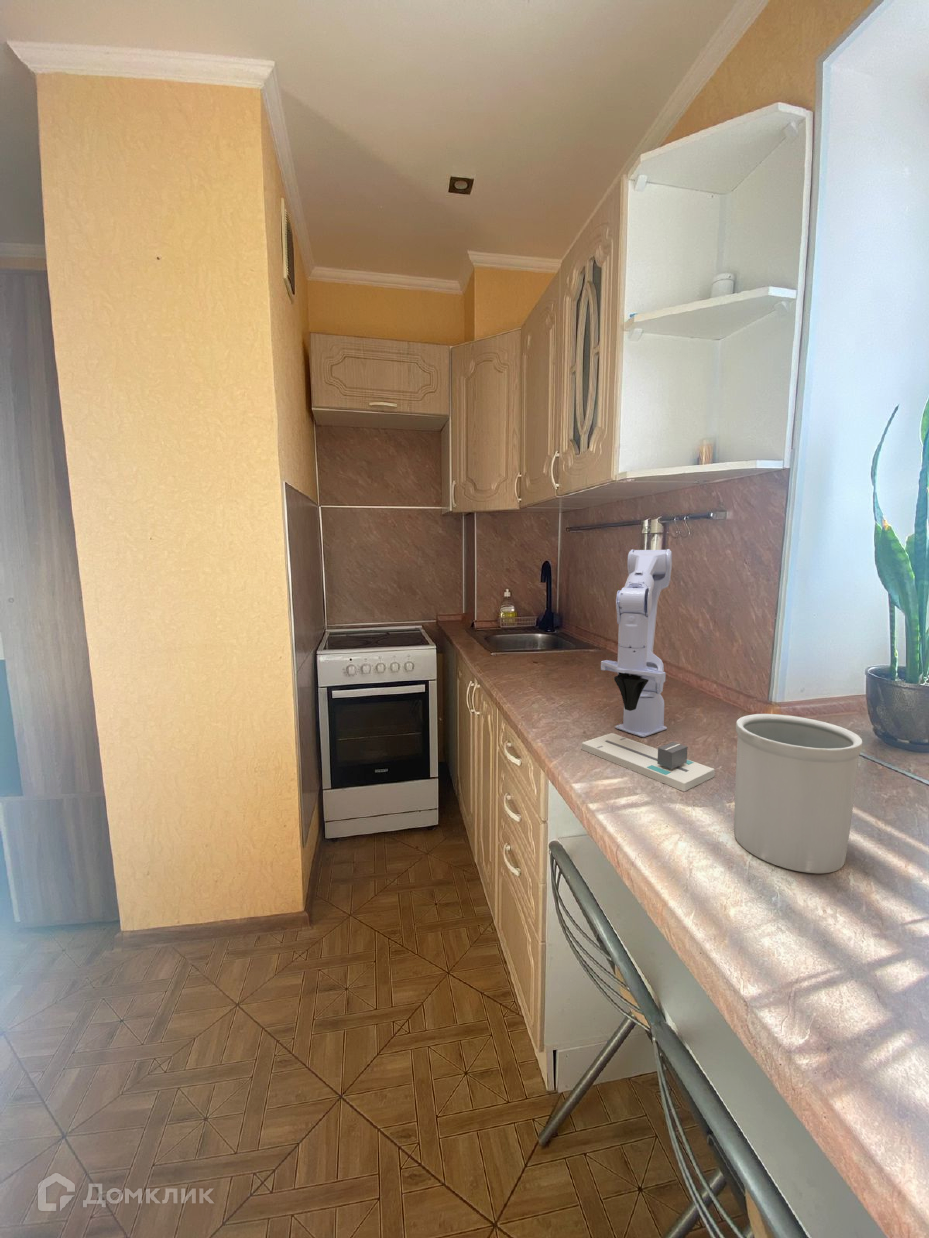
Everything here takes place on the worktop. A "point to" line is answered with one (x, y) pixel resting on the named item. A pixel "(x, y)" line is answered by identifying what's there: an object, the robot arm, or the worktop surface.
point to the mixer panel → (647, 761)
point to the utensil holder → (795, 790)
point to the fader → (672, 755)
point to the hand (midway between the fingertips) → (630, 709)
